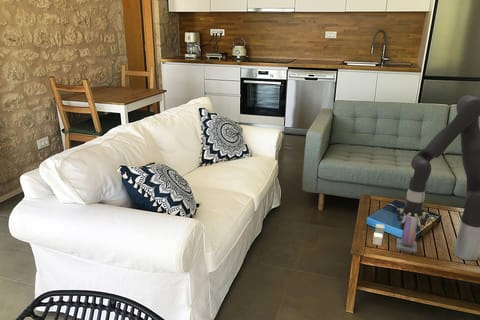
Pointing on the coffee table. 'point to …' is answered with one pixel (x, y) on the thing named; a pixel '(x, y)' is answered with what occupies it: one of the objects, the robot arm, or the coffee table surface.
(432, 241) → the coffee table surface
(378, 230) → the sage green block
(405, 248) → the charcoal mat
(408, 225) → the beverage can
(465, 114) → the robot arm
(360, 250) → the coffee table surface
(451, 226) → the coffee table surface
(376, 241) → the cream block
